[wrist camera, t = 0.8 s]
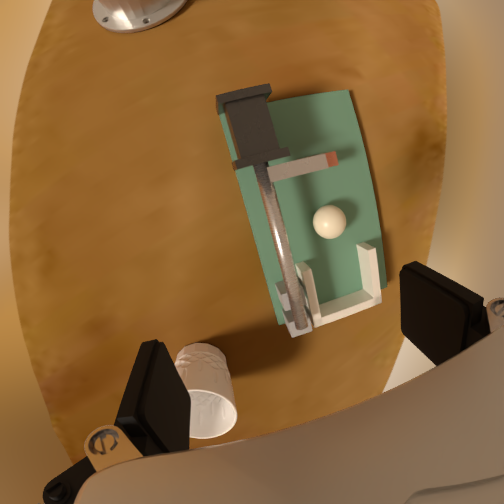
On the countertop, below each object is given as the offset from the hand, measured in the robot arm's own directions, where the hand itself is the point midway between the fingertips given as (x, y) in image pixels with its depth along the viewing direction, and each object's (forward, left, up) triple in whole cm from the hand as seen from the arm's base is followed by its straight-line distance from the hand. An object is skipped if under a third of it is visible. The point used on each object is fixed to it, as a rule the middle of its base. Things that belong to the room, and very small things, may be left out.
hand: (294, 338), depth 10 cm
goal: (+9, +9, -23) cm, 27 cm away
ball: (+2, +9, -20) cm, 22 cm away
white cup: (+16, -10, -24) cm, 30 cm away
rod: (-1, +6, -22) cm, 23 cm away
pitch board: (0, +9, -23) cm, 25 cm away
